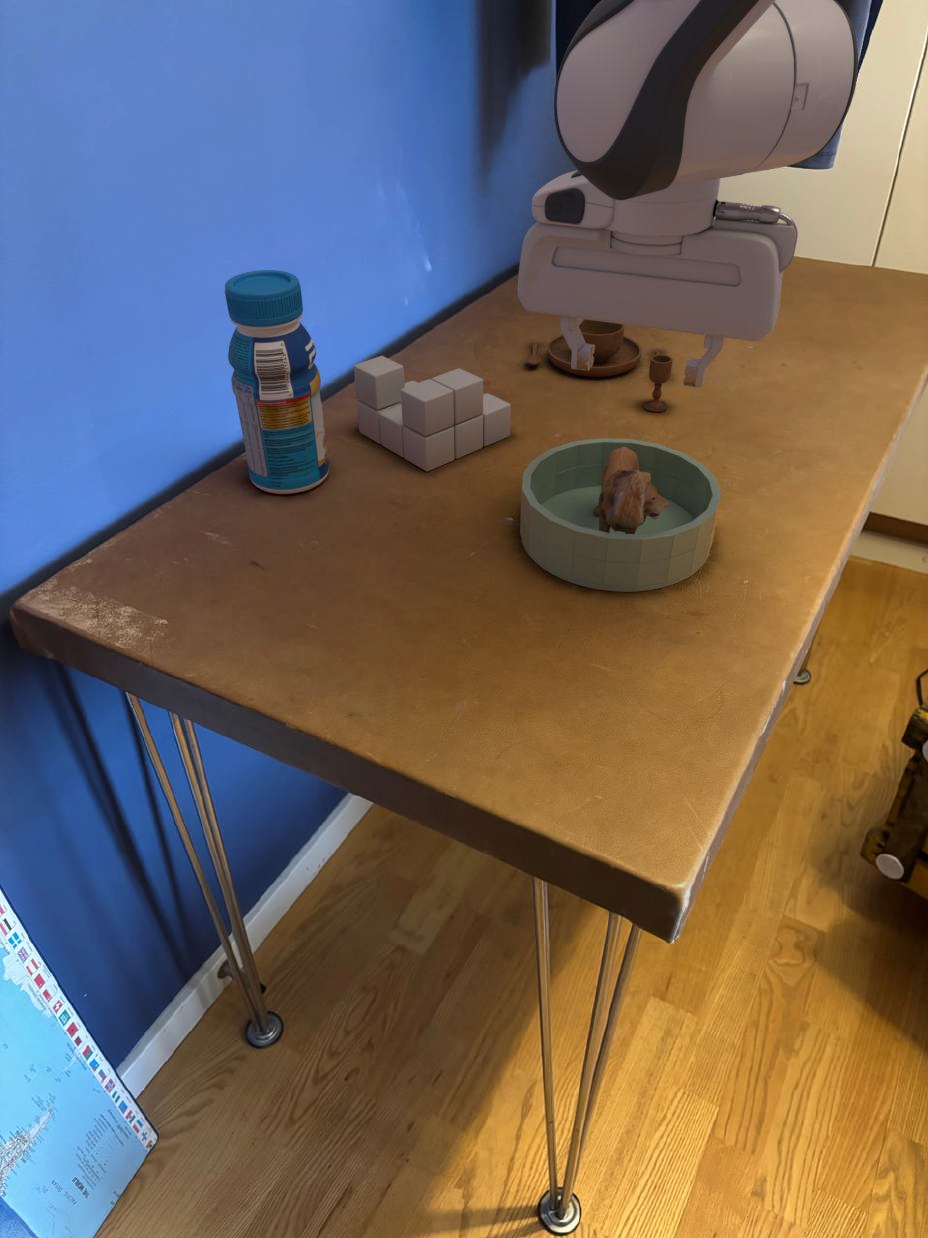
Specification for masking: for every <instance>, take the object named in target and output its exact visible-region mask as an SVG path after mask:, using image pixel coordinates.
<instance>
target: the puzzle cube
mask: <svg viewBox="0 0 928 1238" xmlns="http://www.w3.org/2000/svg"><path fill="white" fill-rule="evenodd" d="M353 372H354V373H353V376H354V385H355V397H356V399H357V400H356V408H357V420H358V431H359V433H360V434H362V435H363V436H365V437H367V438H368V439H370V440H372V441H374V442H376V444H379V445H381V446H382V447H384V448H386V449H387V450H389V451H390V452H392V453H394V454H396V455H398V456H399V457H401V458H404V459H405V460H406V461H408V462H409V463H411V464H413V465H414V466H416V467H418V468H420V469H421V470H423V471H424V472H430V471H432V470H434V469H437V468H440V467H442V466H444V465H446V464H448V463H451V462H453V461H454V460H455V459H456V460H458V459H460V458H463V457H464V456H467V455H469V454H472V453H474V452H476V451H479V450H481V449H483V447H485V448H486V447H488V446H490V445H492V444H494V443H497V442H499V441H502V440H504V439H506V438H508V437H510V436H511V418H512V417H511V416H512V413H511V411H512V404H511V403H510V402H507V401H505V400H503V399H501V398H499V397H497V396H495V395H494V394H493V395H492V394H491V393H488V392H486V393H484V379H483V378H481V377H479V376H477V375H475V374H473V373H471V372H469V371H467V370H464V369H462V368H460V367H458V368H455V369H453V370H450V371H448V372H445V373H442V374H439V375H437V376H434V377H431V379H430V378H428V379H426V380H422V381H420V382H417V381H415V380H410V381H407V382H405V367H404V366H403V364H400V363H398V362H396V361H394V360H392V359H390V358H388V357H385V356H384V355H380V356H376V357H374V358H371V359H367V360H364V361H362V362H359V363H356V364H354V365H353Z"/></svg>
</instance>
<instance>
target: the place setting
mask: <svg viewBox="0 0 928 1238" xmlns="http://www.w3.org/2000/svg"><path fill="white" fill-rule="evenodd" d="M579 328H580V331H581V333H582V335H583V338H584V340H585V342H586V343H587V344H593V345H595V350H594V353H593V357H594V362H593V366H592V367H591V368H590V370H589V371H585V370H576V369H572V368H571V357H572V350H570V348H569V346H568V344H567V342H566V340H565V338H564V336H563V334H559V335H557V336H555V337H554V338H552V339H551V340H550V341H549V342H548V343H547V347H546V352H547V357H548V358H549V361H551V364H553V365H554V366H555V367H557V368H559V369H561V370H563V371H564V372H567V373H569V374H572V375H576V376H581V377H587V378H606V377H612V376H617V375H621V374H623V373H626V372H628V371H630V370H631V369H634V367H636V366H637V365H638V364H639V362H640V361H641V358H642V354H643V350H642V346H641V345H640V344H639V342H637V341H636V340H634V339H633V338H630V337H628V336H625V335H624V334H625V325H624V324H616V323H609V322H601V321H593V320H586V319H584V320H583V322H582V323H581V324H580V325H579ZM531 348H532V349H531V350H532V352H531V355H529V356H528V357H526V358H525V362H526V363H527V364H528V365H530V366H537V365H539V364H540V363H541V361H542V359H541V357H539V356H538V355H537V350H538V343H537V342H533V343H532V347H531ZM672 367H673V357H672V356H669V355H667V354H661V353H660V350H656V351H655V354H653V355H652V356H651V357H650V359H649V370H648V376H649V380H650V382H652V383H653V384H654V388H653V391H652V393H651V396H652V400H646V401H645V402H644V403H643V404H642V407H643V409H644V410H645V411H647V412H650V413H663V412H665V411H667V410H668V407H669V406H668V404H667V403H666V402H665V401H662V400H660V399H661V398H662V395H663V393H662V386H663V384H665V383H667V382H668V380H669V379H670V376H671V373H672Z"/></svg>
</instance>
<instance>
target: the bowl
mask: <svg viewBox="0 0 928 1238" xmlns="http://www.w3.org/2000/svg"><path fill="white" fill-rule="evenodd" d="M621 447H627V448H628V449H630V450H632V451H634V452H635V453H636V455H637V458H638V466H639V471H640V472H647V473H650V474H651V475H650V477H651V485H653V486H654V487H655V488H656V489H657V492H658V494H659V495H661V496H662V497H663V498H664V499H666V500H667V501H668V502H669V504H668V506H666V507H665V509H664V510H663V511H662V512H661V513H660V514H659V517H658V518H657V519H652V518H651V517H649V516H646V520H645V522H644V523H643V524H642V525H641V526H638V527H637V530H636V532H635V534H625V532H620V531H617V532H616V531H614V530H613V529H612V528H610V533H607V532H602V531H599V517H600V516H595V515H594V514H593V510H594V509H595V508H596V506H597V505H598V503H599V496H600V493H601V489H602V488H601V482H602V474H603V470H604V465H605V461H606V459H607V458H608V456H609V455H610V453H611V452H612V451H614V450H615V449H618V448H621ZM520 492H521V494H520V517H519V519H520V521H519V536H520V542H521V544H522V546H523V549H524V550H525V552H526V554H527V555H528V556H529V558H531V560H532V561H533V562H534V563H535V564H537V566H539V567H540V568H542V569H543V570H544V571H546V572H548V573H549V574H551V575H553V576H554V577H557V578H559V579H561V580H563V581H565V582H568V583H571V584H573V585H578V586H580V587H584V588H588V589H593V590H599V591H606V592H619V593H620V592H621V593H631V592H645V591H653V590H658V589H662V588H666V587H670V586H673V585H676V584H678V583H680V582H682V581H684V580H686V579H688V578H690V577H691V576H693V575H694V574H696V572H698V571H699V570H700V569H701V568H702V567H703V566H704V565H705V563H706V562H707V560H708V558H709V556H710V552H711V550H712V549H711V548H712V545H713V543H714V538H715V535H716V529H717V524H718V517H719V513H720V507H721V502H722V497H723V496H722V493H721V488H720V484H719V480H718V478H716V476H715V475H714V474H713V473H712V472H711V471H710V469H708V467H707V466H706V465H705V464H703V463H701V462H700V461H699V460H697V459H695V458H693V457H691V456H690V455H688V454H687V453H685V452H682V451H680V450H676V449H674V448H671V447H669V446H665V445H663V444H659V443H656V442H652V441H651V442H650V441H644V440H639V439H634V438H616V437H615V438H613V437H598V438H590V439H582V440H575V441H570V442H567V443H564V444H561V445H557V446H554V447H550V448H549V449H547V450H546V451H545V452H543V453H540V455H538V456H536V457H535V458H533V459H532V460H531V462H530V463H529V464H528V466H527V467H526V468H525V470H523V473H522V477H521V491H520Z"/></svg>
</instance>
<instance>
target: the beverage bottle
mask: <svg viewBox="0 0 928 1238" xmlns="http://www.w3.org/2000/svg"><path fill="white" fill-rule="evenodd" d="M224 295H225V302H226V306H227V311H228V315H229V318H230V321H231V322H232V324H233V325H235V326H236V327H235V329H234V332H233V334H232V336H231V339H230V341H229V344H228V345H229V346H228V353H227V358H228V359H227V360H228V363H229V365H230V366H231V367H232V369H233V372H232V374H231V379H230V381H231V389H232V392H233V395H234V397H235V402H236V408H237V412H238V417H239V422H240V428H241V434H242V439H243V444H244V445H243V446H244V449H245V455H246V461H247V471H248V476H249V479H250V481H251V483H252V484H253V485H254V486H255V487H256V488H258V489H259V490H262V491H263V492H267V493H271V494H276V495H291V494H296V493H297V494H299V493H302V492H306V491H309V490H312V489H314V488H316V487H317V486H319V485H320V484H322V483H323V482H324V481H325V480H326V478H327V477H328V474H329V472H330V464H329V463H330V462H329V457H328V449H327V440H326V431H325V423H324V422H325V421H324V412H323V402H322V394H321V386H322V385H321V384H322V380H321V379H322V378H321V373H320V370H319V368H318V367H317V365H316V364H315V359H316V356H317V348H316V346H315V342H314V340H313V339H312V337H311V334H310V333H309V332H308V330H307V328H306V327H305V326H304V325H303V323H301V321H300V320H301V319H302V317H303V312H304V306H303V296H302V295H303V294H302V289H301V284H300V281H299V278H298V277H297V275H294V274H293V273H291V272H287V271H283V270H275V269H261V270H252V271H246V272H242V273H239V274H235V275H234V276H232V277H231V278H228V280H227V281H226V282H225V285H224Z"/></svg>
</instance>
